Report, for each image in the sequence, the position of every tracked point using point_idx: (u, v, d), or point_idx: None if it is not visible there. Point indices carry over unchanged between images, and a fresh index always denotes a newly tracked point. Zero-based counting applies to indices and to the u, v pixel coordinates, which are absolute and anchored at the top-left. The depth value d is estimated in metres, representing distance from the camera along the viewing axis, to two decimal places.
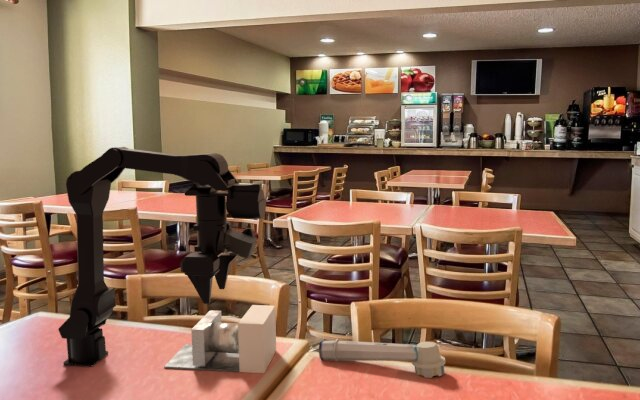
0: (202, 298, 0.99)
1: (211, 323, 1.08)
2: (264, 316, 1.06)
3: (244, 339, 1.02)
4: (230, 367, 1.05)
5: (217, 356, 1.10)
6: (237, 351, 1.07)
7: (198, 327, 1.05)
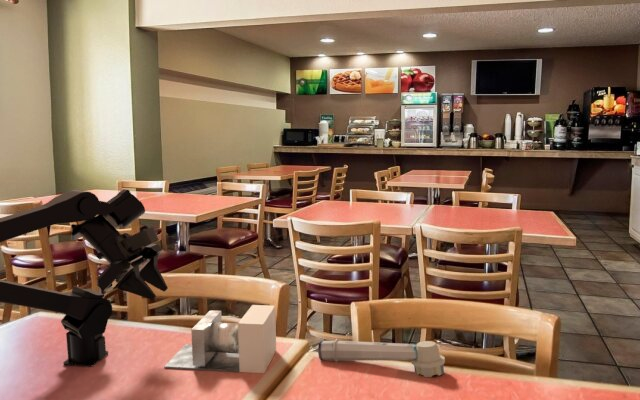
0: (147, 297, 1.06)
1: (211, 323, 1.08)
2: (264, 316, 1.06)
3: (244, 339, 1.02)
4: (230, 367, 1.05)
5: (217, 356, 1.10)
6: (237, 351, 1.07)
7: (198, 327, 1.05)
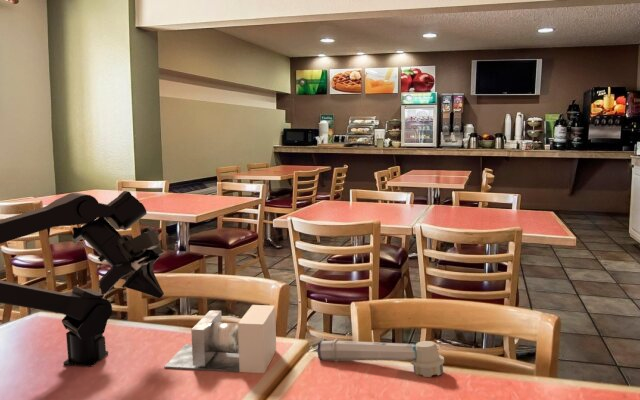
0: (154, 295, 1.09)
1: (211, 323, 1.08)
2: (264, 316, 1.06)
3: (244, 339, 1.02)
4: (230, 367, 1.05)
5: (217, 356, 1.10)
6: (237, 351, 1.07)
7: (198, 327, 1.05)
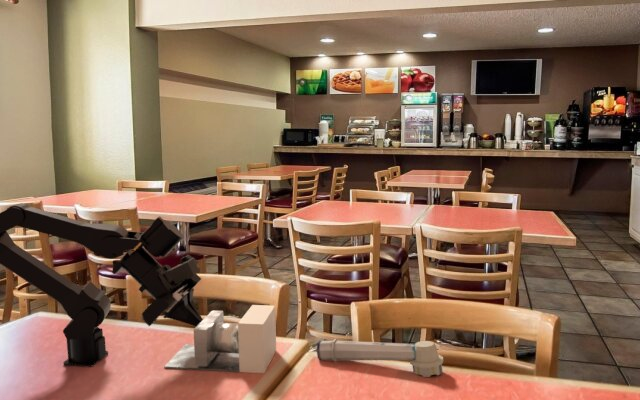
0: (195, 324, 1.09)
1: (213, 323, 1.08)
2: (264, 316, 1.06)
3: (244, 339, 1.02)
4: (230, 367, 1.05)
5: (217, 356, 1.10)
6: None
7: (200, 327, 1.05)
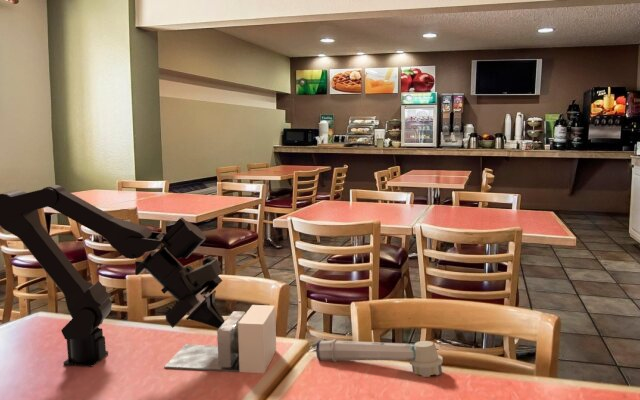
0: (217, 326, 1.08)
1: (236, 324, 1.07)
2: (264, 316, 1.06)
3: (244, 339, 1.02)
4: (230, 367, 1.05)
5: (217, 356, 1.10)
6: None
7: (224, 328, 1.04)
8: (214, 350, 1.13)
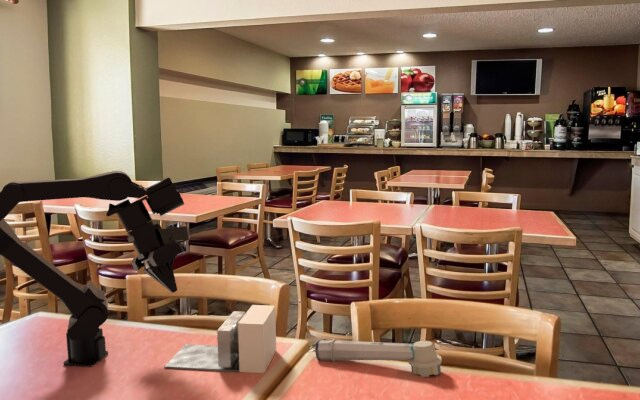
0: (170, 288, 1.11)
1: (236, 324, 1.07)
2: (264, 316, 1.06)
3: (244, 339, 1.02)
4: (230, 367, 1.05)
5: (217, 356, 1.10)
6: None
7: (224, 328, 1.04)
8: (214, 350, 1.13)
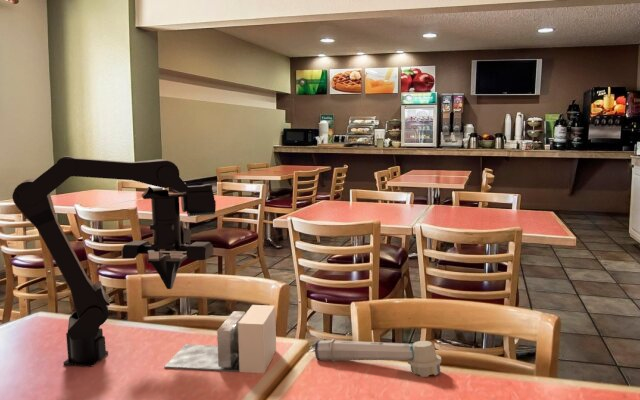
0: (171, 284, 1.14)
1: (236, 324, 1.07)
2: (264, 316, 1.06)
3: (244, 339, 1.02)
4: (230, 367, 1.05)
5: (217, 356, 1.10)
6: None
7: (224, 328, 1.04)
8: (214, 350, 1.13)
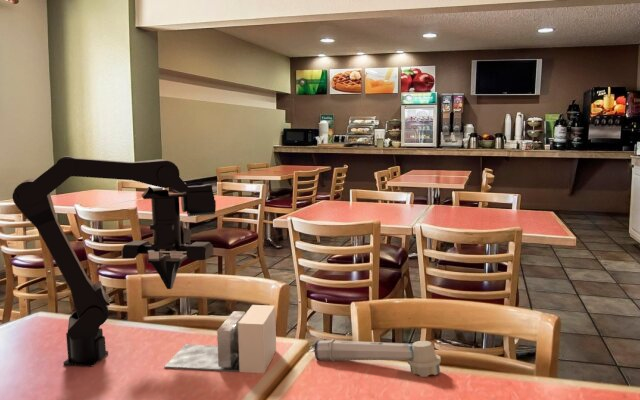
0: (171, 284, 1.14)
1: (236, 324, 1.07)
2: (264, 316, 1.06)
3: (244, 339, 1.02)
4: (230, 367, 1.05)
5: (217, 356, 1.10)
6: None
7: (224, 328, 1.04)
8: (214, 350, 1.13)
